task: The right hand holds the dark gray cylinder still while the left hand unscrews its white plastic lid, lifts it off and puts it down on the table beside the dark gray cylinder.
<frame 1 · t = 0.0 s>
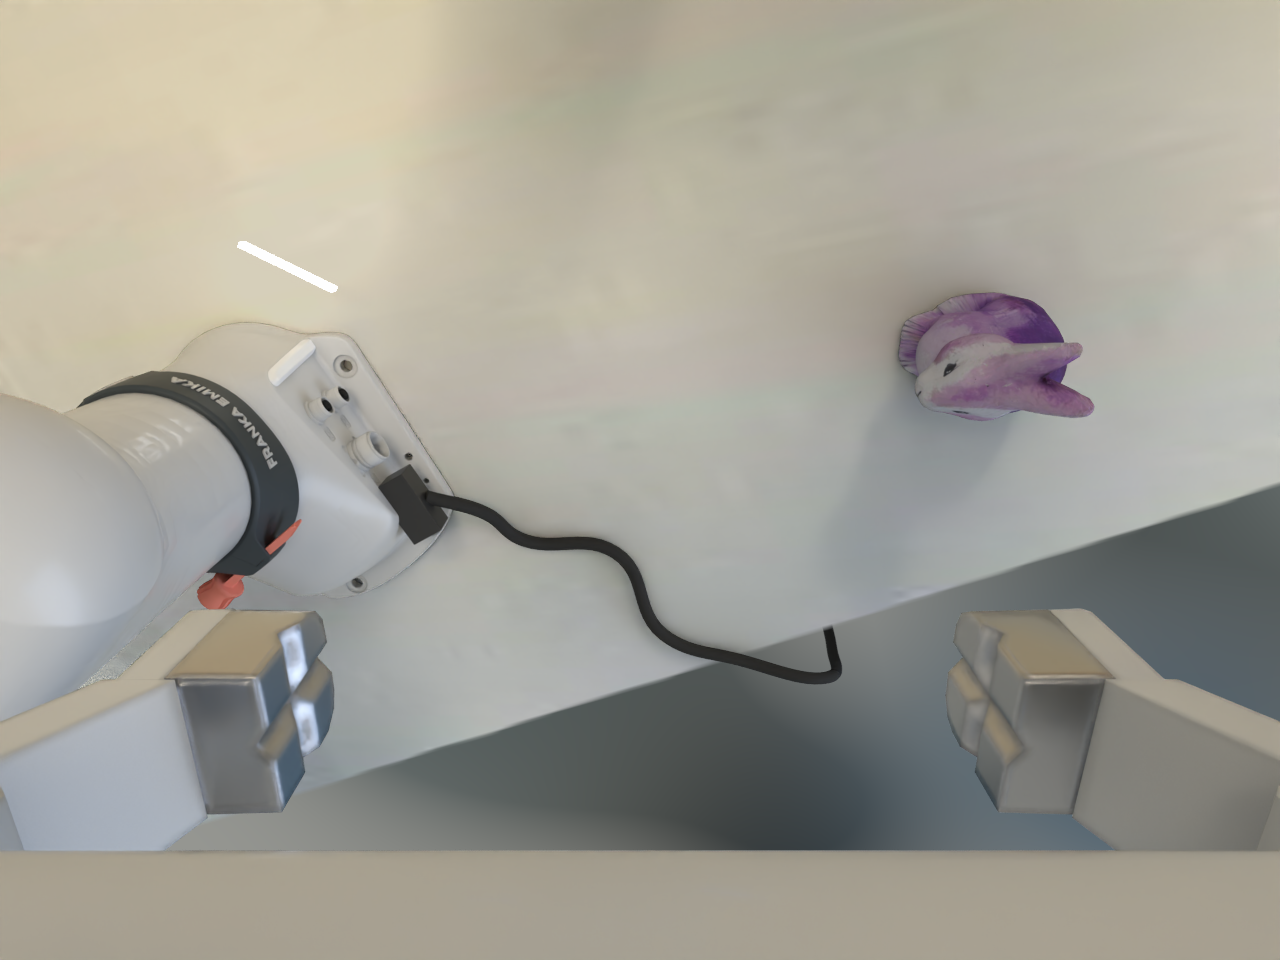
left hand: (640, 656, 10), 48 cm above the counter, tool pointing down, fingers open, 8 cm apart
figurine: (957, 350, 57), on the counter
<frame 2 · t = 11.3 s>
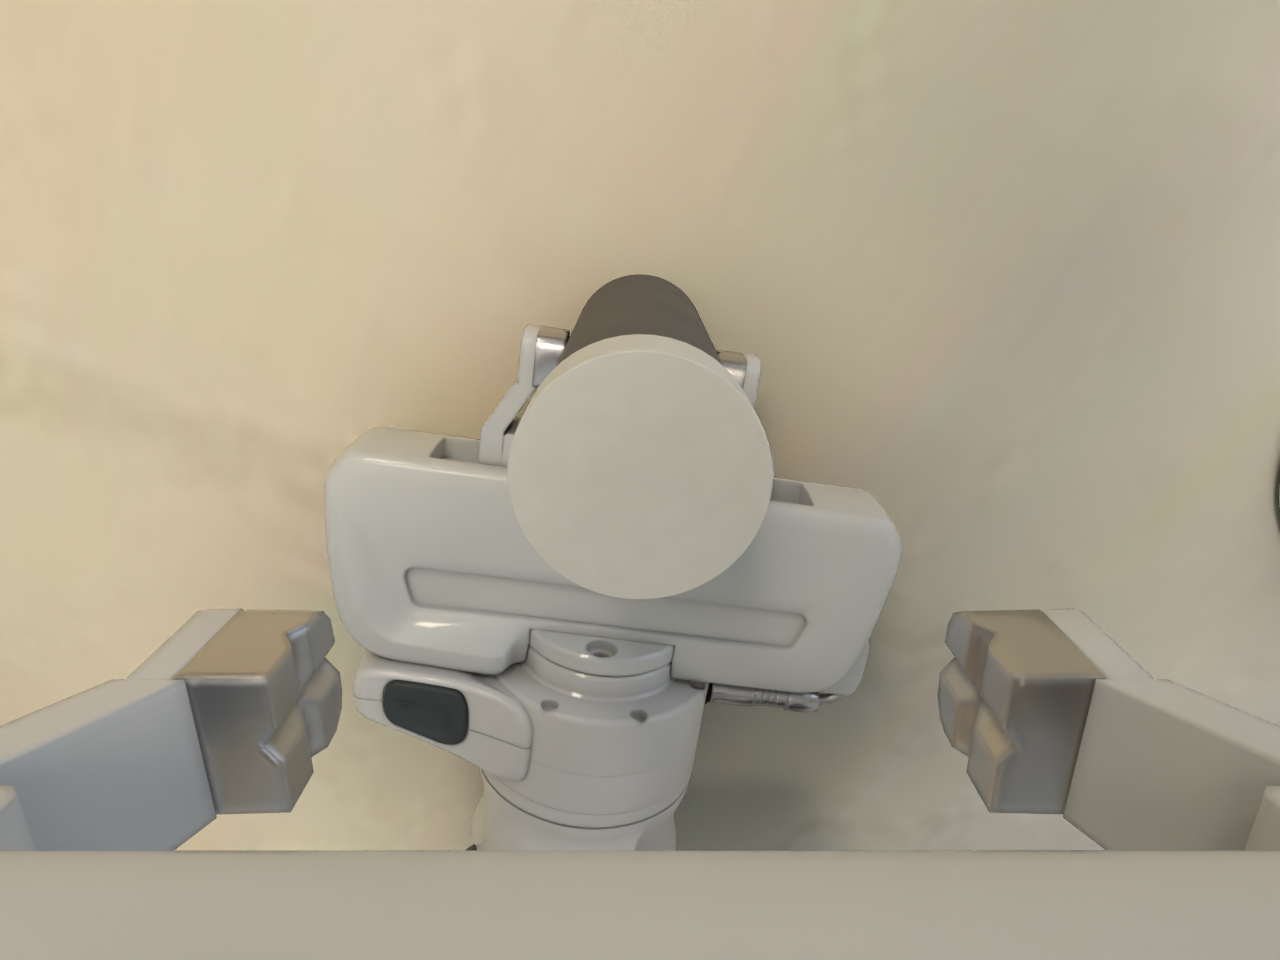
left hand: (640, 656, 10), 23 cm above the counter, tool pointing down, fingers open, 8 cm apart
right hand: (641, 341, 27), fingers closed on dark gray cylinder, 5 cm apart
lid: (640, 476, 17), point 16 cm above the counter, screwed on, not yet turned
dark gray cylinder: (639, 339, 32), on the counter, touching right hand
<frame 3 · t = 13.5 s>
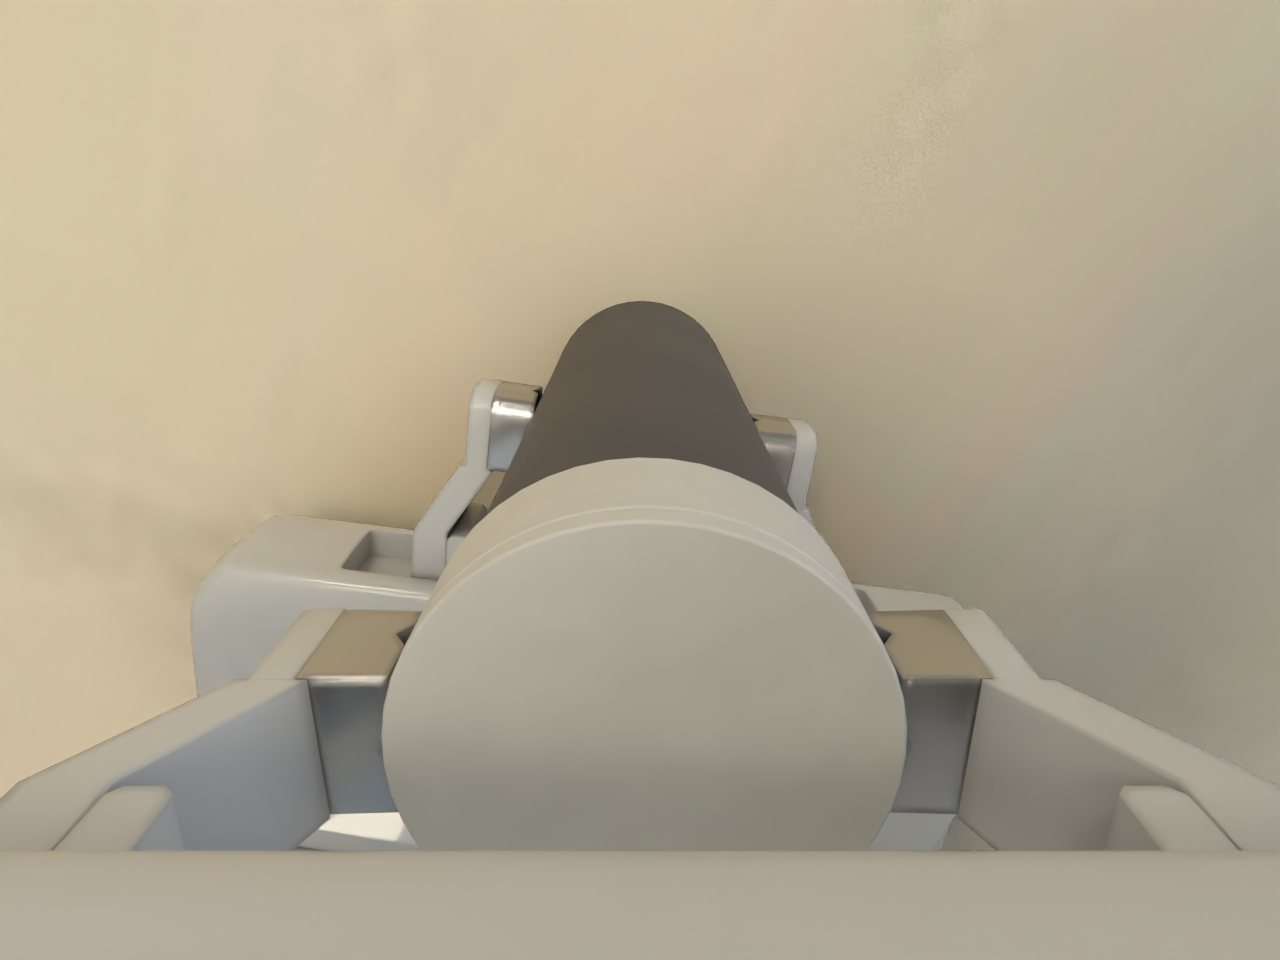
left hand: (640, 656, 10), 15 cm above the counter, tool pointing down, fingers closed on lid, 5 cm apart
lid: (644, 740, 9), point 16 cm above the counter, screwed on, not yet turned, touching left hand
dark gray cylinder: (641, 387, 24), on the counter, touching right hand
when the left hand's fingers open (15 cm above the counter, at t = 14.8 s): lid stays where it is, point 17 cm above the counter.
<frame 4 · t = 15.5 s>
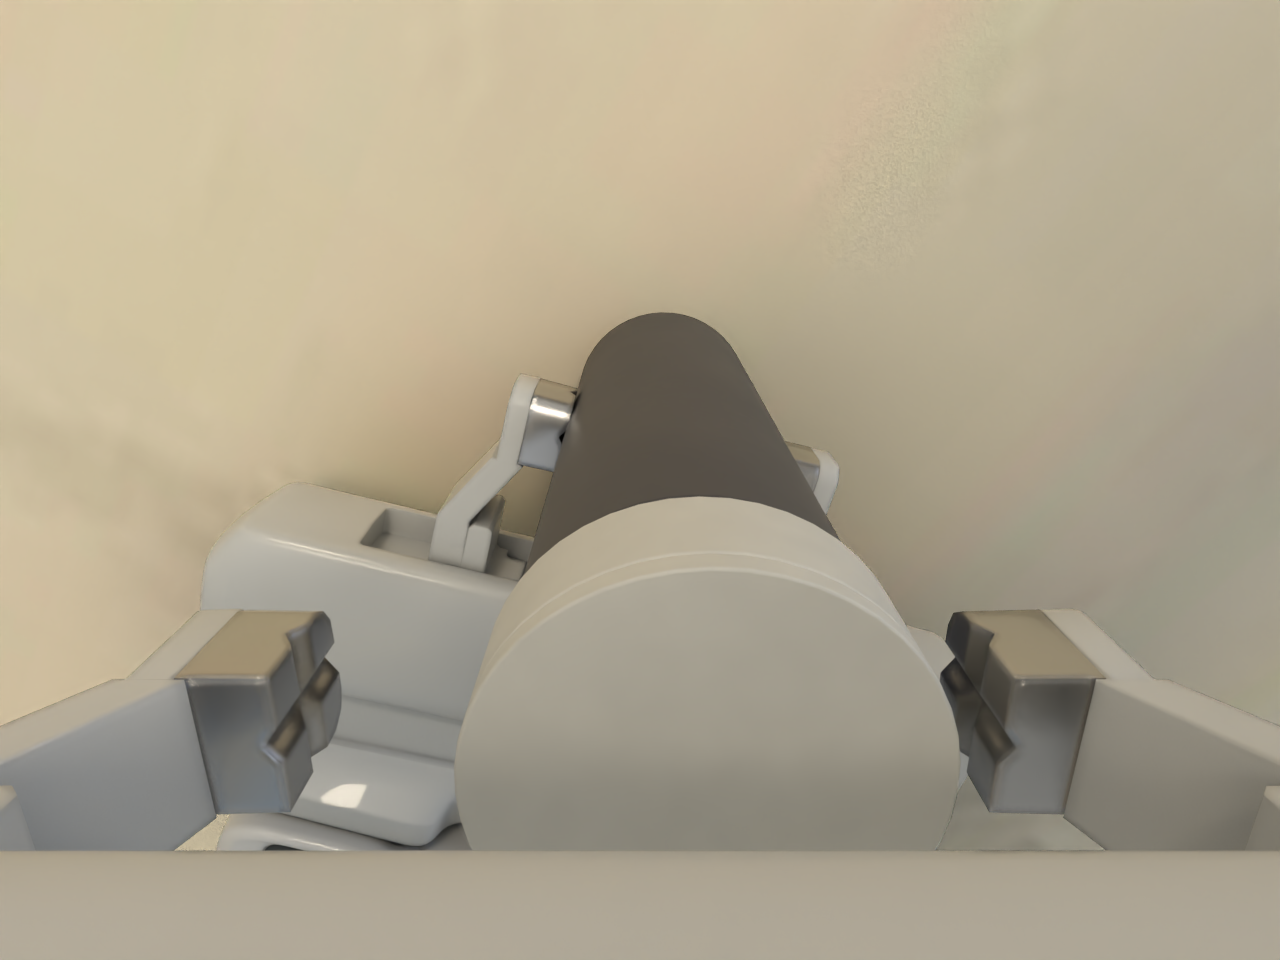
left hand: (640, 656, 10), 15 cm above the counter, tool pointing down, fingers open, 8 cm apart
lid: (704, 771, 9), point 17 cm above the counter, turned 74° so far, risen 0.2 cm, still on its thread
dark gray cylinder: (662, 396, 24), on the counter, touching right hand
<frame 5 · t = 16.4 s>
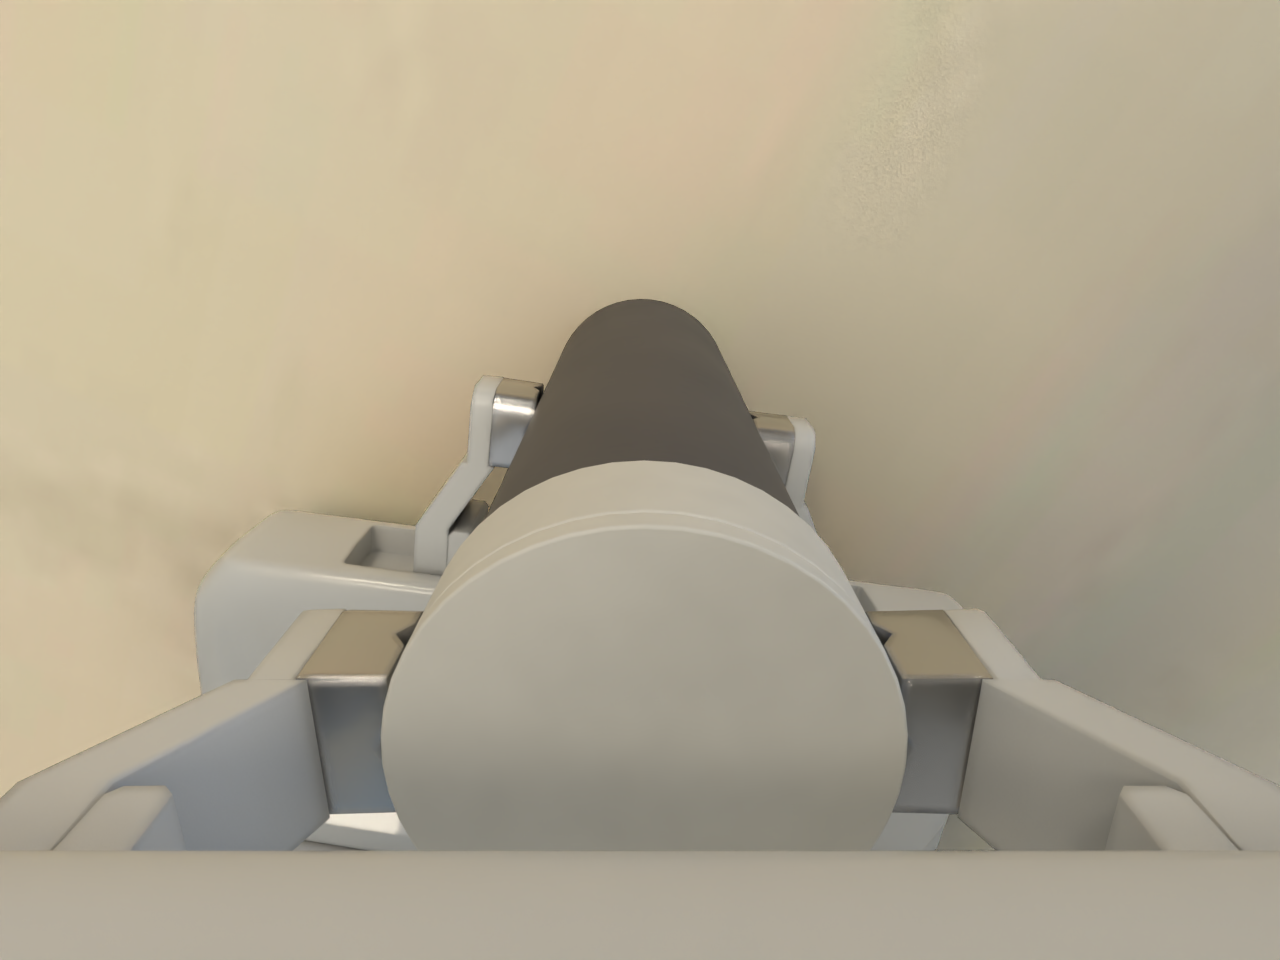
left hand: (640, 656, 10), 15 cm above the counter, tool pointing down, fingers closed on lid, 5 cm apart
lid: (644, 744, 9), point 17 cm above the counter, turned 74° so far, risen 0.2 cm, still on its thread, touching left hand
dark gray cylinder: (641, 384, 24), on the counter, touching right hand
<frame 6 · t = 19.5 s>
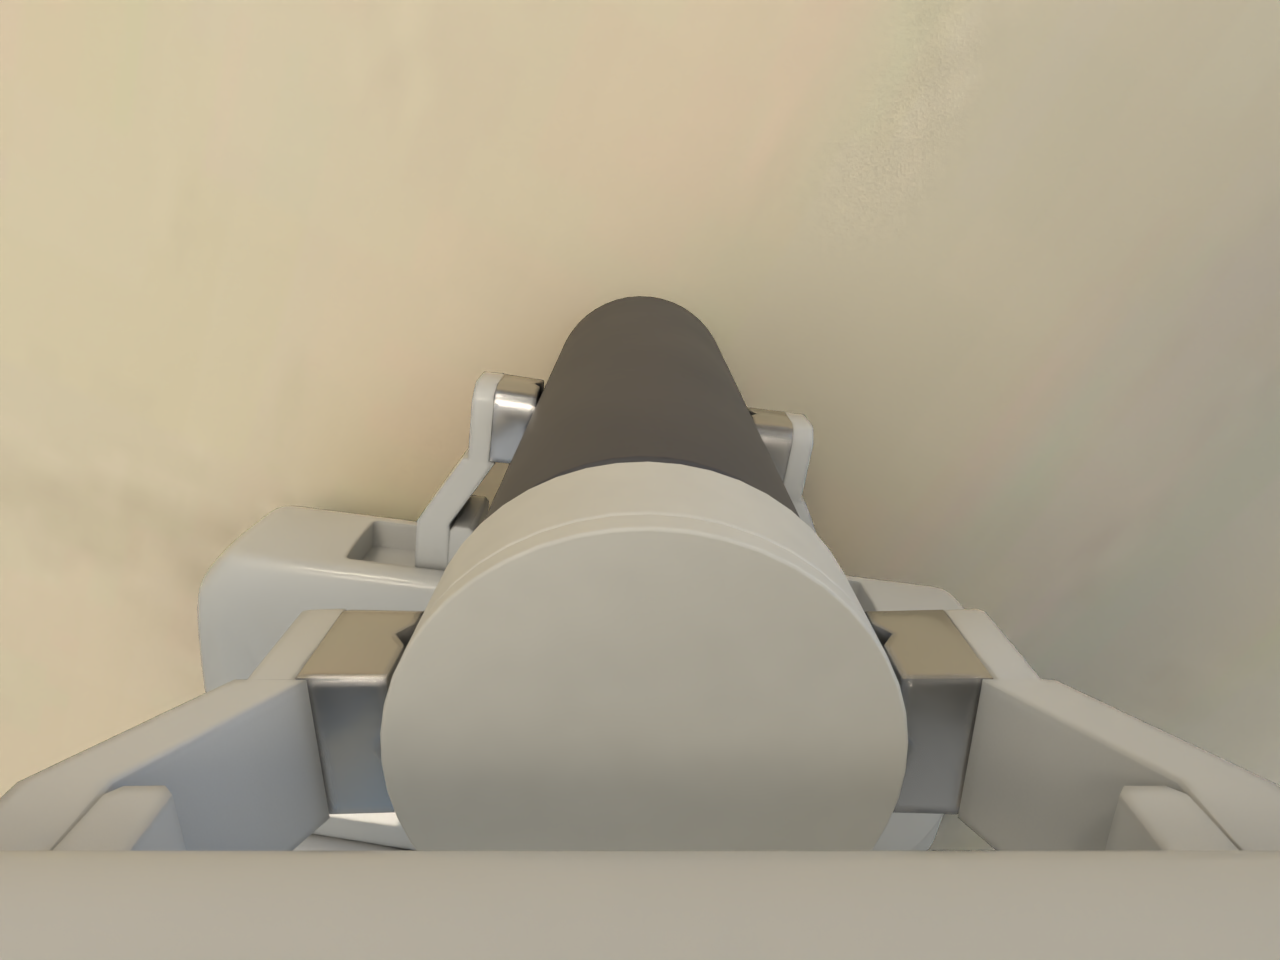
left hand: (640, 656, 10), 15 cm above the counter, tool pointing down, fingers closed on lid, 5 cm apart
lid: (644, 745, 9), point 17 cm above the counter, turned 148° so far, risen 0.4 cm, still on its thread, touching left hand
dark gray cylinder: (640, 381, 24), on the counter, touching right hand
when the left hand's fingers open (2 cm above the counter, at t = 26.9 s): lid drops 2 cm, point 2 cm above the counter.
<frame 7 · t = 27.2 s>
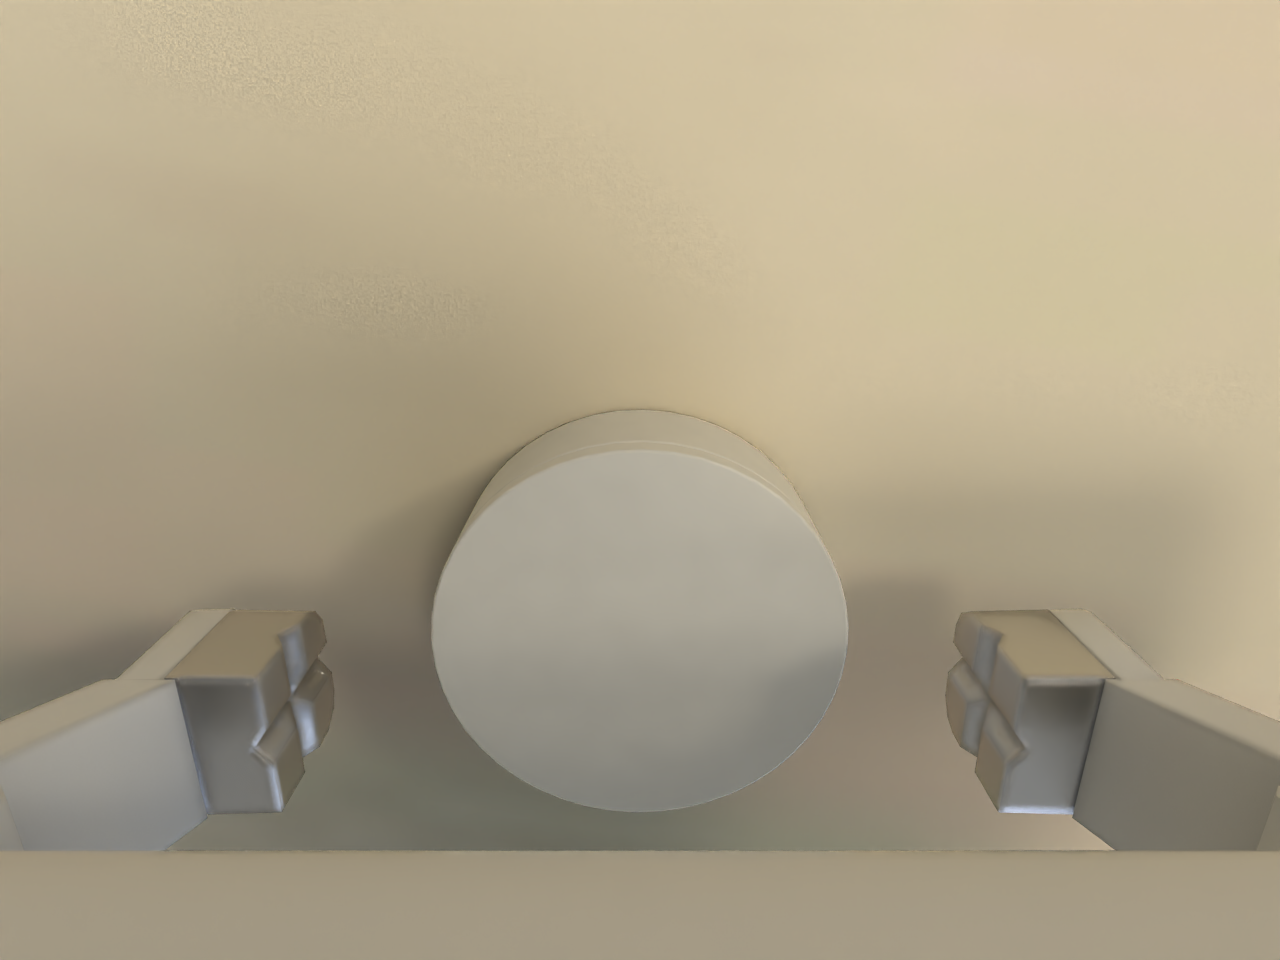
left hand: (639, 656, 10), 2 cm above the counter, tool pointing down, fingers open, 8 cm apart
lid: (639, 634, 11), point 2 cm above the counter, off its thread
when the right hand's fingers open (5 cm above the counter, at t = 28.0 s): dark gray cylinder stays where it is, on the counter.
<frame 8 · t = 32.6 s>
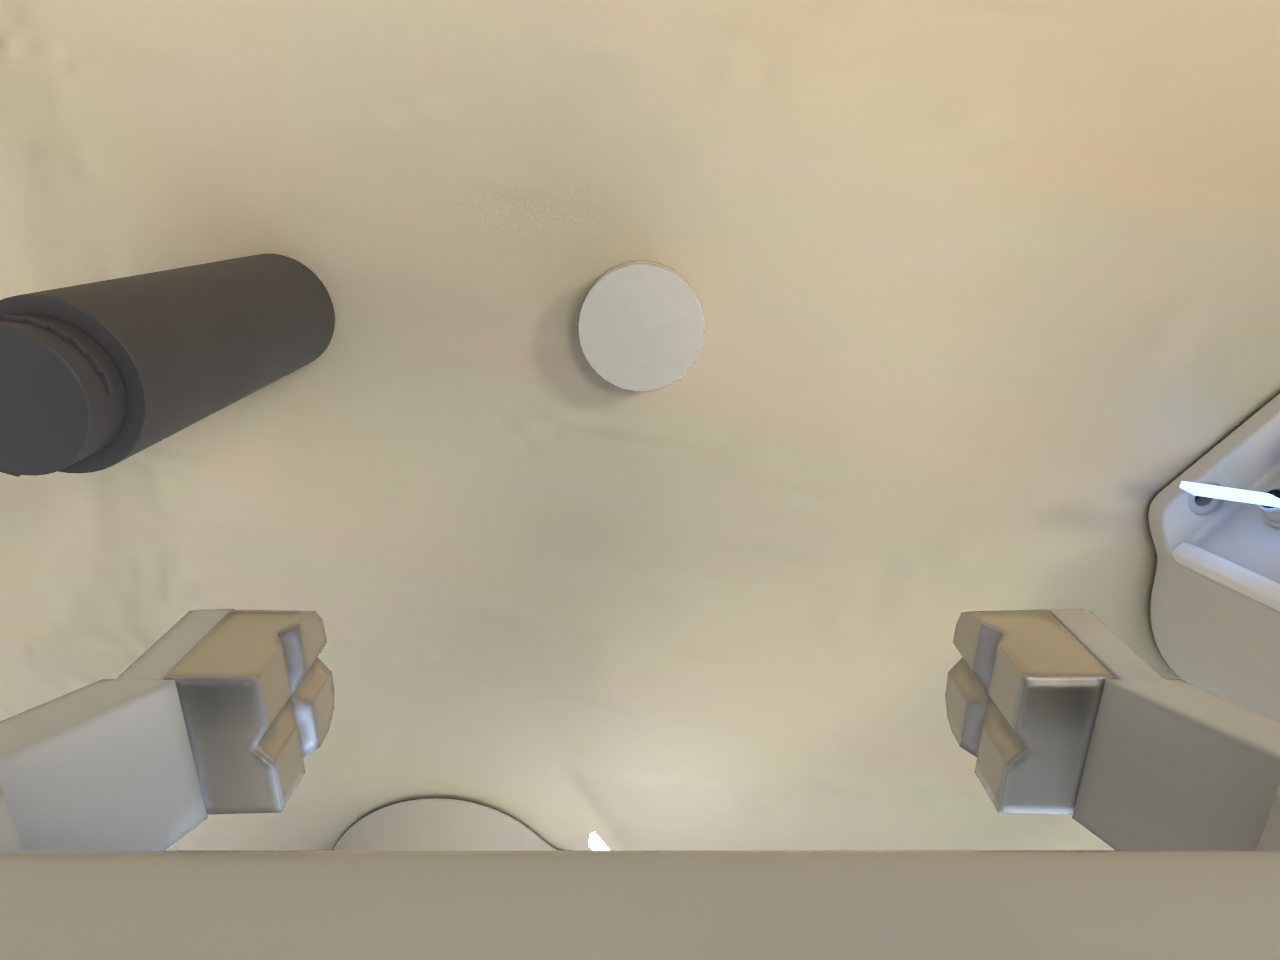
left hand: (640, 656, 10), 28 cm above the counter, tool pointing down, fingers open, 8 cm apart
lid: (641, 328, 35), point 2 cm above the counter, off its thread
dark gray cylinder: (278, 312, 36), on the counter
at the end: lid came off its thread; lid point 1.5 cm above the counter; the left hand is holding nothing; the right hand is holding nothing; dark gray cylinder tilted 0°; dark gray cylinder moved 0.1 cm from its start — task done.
